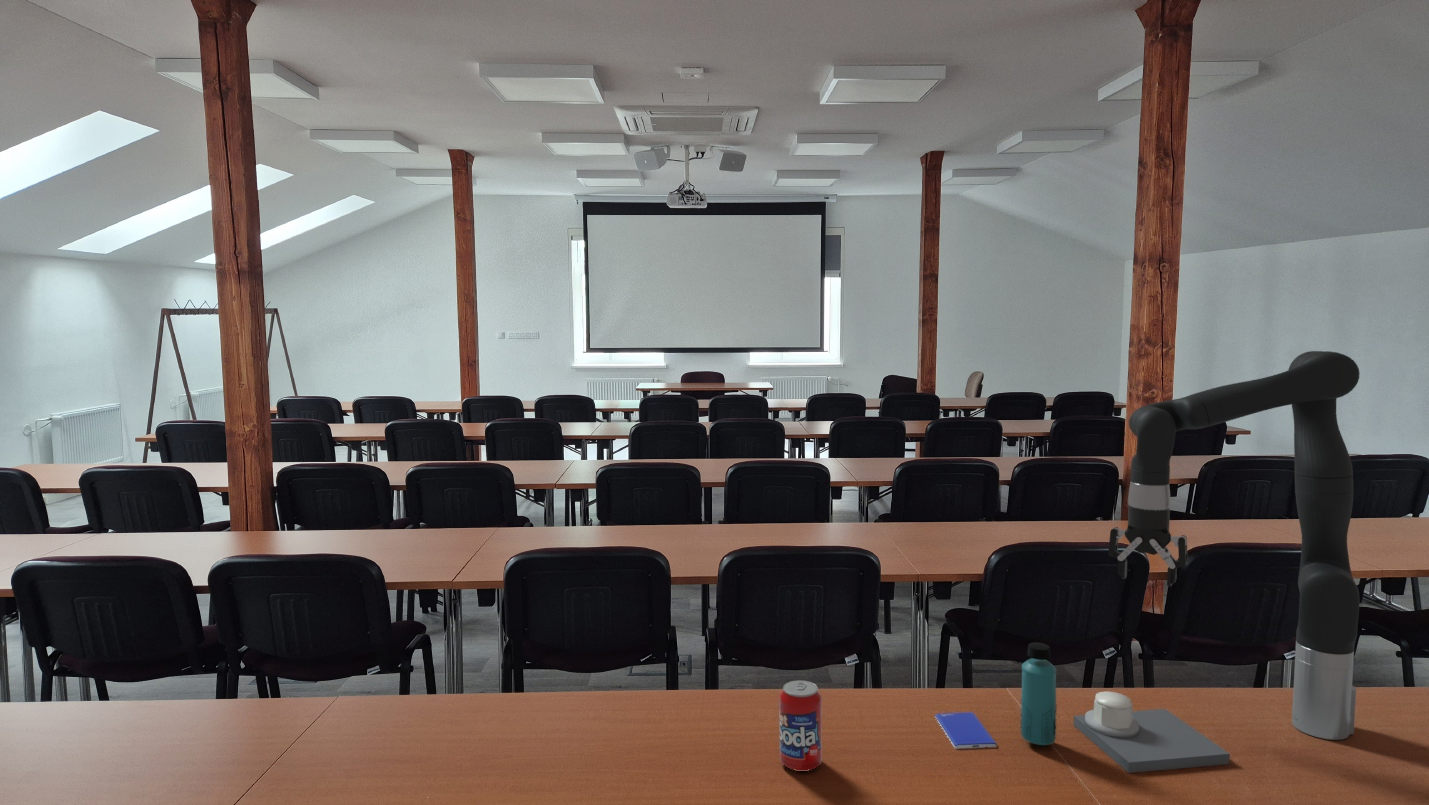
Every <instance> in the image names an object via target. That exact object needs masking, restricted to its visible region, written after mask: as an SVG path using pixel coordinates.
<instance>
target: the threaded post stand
mask: <svg viewBox="0 0 1429 805" xmlns="http://www.w3.org/2000/svg"><path fill="white" fill-rule="evenodd" d="M1073 726H1074V728H1076V729H1077V730H1078V731H1079V732H1081V733H1082V734H1083V735H1084V736H1085V737H1086V738H1087V739H1088V740H1090V741H1091V742H1092V743H1093V744H1095V745H1096V746H1097V747H1098V748H1099V749H1100V750H1101V751H1103V752H1104V753H1105V754H1106V755H1107V756H1108V757H1109V758H1111V759H1112V760H1113V761H1114V762H1115V763H1116V764H1117V765H1119V766H1120V767H1121V768H1122V769H1123V770H1124V771H1125V772H1127V773H1128V774H1130V773H1131V774H1132V773H1143V772H1154V771H1165V770H1178V769H1179V770H1180V769H1189V768H1198V767H1199V768H1200V767H1211V766H1221V765H1230V757H1231V753H1229V752H1228V751H1226V749H1224V748H1222V747H1221V746H1220V745H1218V744H1217V743H1215V742H1214V741H1212V740H1211V739H1209V738H1208V737H1206V736H1205V735H1204V734H1203V733H1201V732H1199V730H1197V729H1195V728H1193V727H1192V726H1191V725H1189V724H1188V723H1186V722H1185V721H1184V720H1182V719H1180V718H1179V717H1177V716H1176V715H1175V714H1174V713H1172V712H1170V711H1169V710H1168V709H1166V708H1158V709H1157V708H1156V709H1155V708H1154V709H1146V710H1145V709H1144V710H1142V709H1141V710H1133V711H1132V724H1131V725H1130V727H1129V728H1123V729H1114V728H1110V727H1107V726H1103V725H1101V724H1099V723H1098V722H1097V721H1096V720H1095V719H1094V708H1093V709H1090V710H1088V711H1087V712H1085V714H1081V715H1073Z"/></svg>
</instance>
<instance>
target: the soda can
mask: <svg viewBox="0 0 1429 805" xmlns="http://www.w3.org/2000/svg"><path fill="white" fill-rule="evenodd" d="M778 698H779V700H778V701H779V703H778V704H779V705H778V706H779V707H778V708H779V710H778V711H779V712H778V713H779V714H778V715H779V761H780V763H781V765H783V766H784V765H785V766H787V767H788V768H791V769H796V770H808V769H809V770H810V769H814V768H816V767H817V766H819V765H820V766H821V764H822V763H823V762H822V761H823V760H822V759H823V714H822V712H823V704H822V702H823V701H822V700H823V698H822V694H821V693H820V691H819V687H818V686H817V684H815V683H814V682H811V681H808V680H800V679H799V680H791V681H788V682H786V683H785V684H783V686H782V690H781V692H780V693H779V697H778ZM785 766H784V767H785ZM820 766H819V767H820ZM788 768H787V769H788ZM817 768H818V767H817ZM817 768H816V769H817ZM814 770H815V769H814Z"/></svg>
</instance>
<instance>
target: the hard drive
mask: <svg viewBox="0 0 1429 805" xmlns="http://www.w3.org/2000/svg"><path fill="white" fill-rule="evenodd" d="M935 718H936V719H937V721H938V722H937V721H936V722H937V724H938V723H939V724H940V725H939V724H938V725H939V727H940V726H941V727H942V728H941V727H940V728H941V730H942V729H943V730H944V731H943V730H942V731H943V733H944V732H945V733H944V734H945V736H946V735H947V736H946V737H947V739H948V738H949V739H948V740H949V742H950V741H951V742H950V743H951V745H952V747H953V748H954V749H955V750H959V749H963V750H964V749H981V748H982V749H984V748H985V747H988V748H997V742H996V741H995V740H994V739H993V737H992V735H991V734H990V733H989V732H988V731H987V729H986V728H985V726H984V725H983V724H982V722H981V721H980V720H979V718H978V717H977V716H976V714H975V713H974V712H972V711H969V712H967V711H965V712H948V713H947V712H946V713H943V712H941V713H936V714H934V719H935ZM936 719H935V720H936Z"/></svg>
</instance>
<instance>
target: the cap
mask: <svg viewBox="0 0 1429 805" xmlns="http://www.w3.org/2000/svg"><path fill="white" fill-rule="evenodd" d="M1133 707H1134V705H1133V703H1132V699H1131V698H1130V697H1128V696H1126V695H1125V694H1122V693H1119V692H1115V691H1100V692H1096V694H1095V698H1094V700H1093V709H1094V719H1095V720H1096V721H1097V722H1098V723H1099V724H1101V725H1103V726H1107V727H1110V728H1114V729H1123V728H1129V727H1130V725H1131V724H1132V711H1134V710H1133Z"/></svg>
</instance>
